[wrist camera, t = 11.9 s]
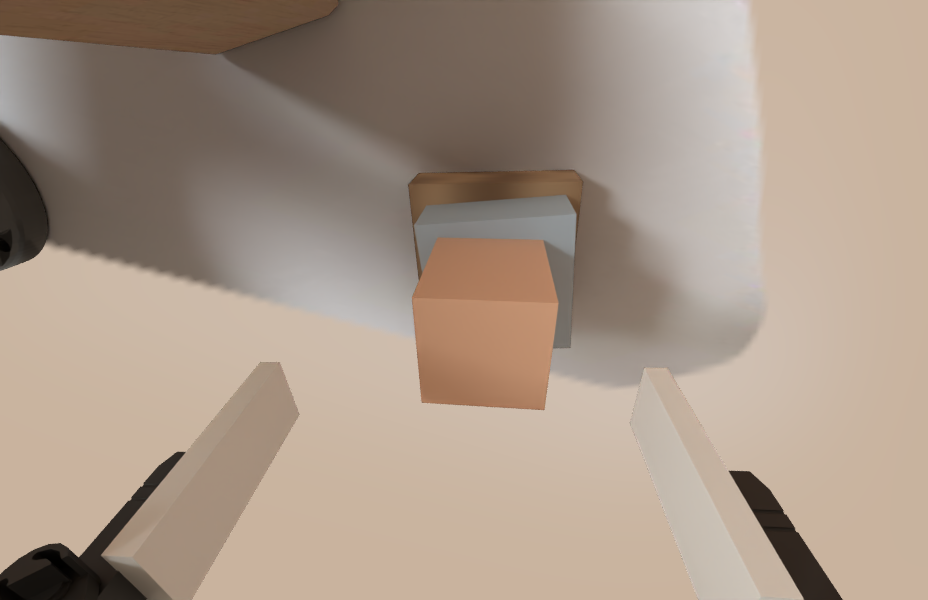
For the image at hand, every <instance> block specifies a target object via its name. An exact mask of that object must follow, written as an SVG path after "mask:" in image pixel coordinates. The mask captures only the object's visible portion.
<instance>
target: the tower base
mask: <svg viewBox="0 0 928 600" xmlns="http://www.w3.org/2000/svg"><path fill="white" fill-rule="evenodd" d="M582 186H583V181H582V180H581V178H580V177H579V176H578V175H577V173H576V172H575V171H574V170H545V171H498V172H451V173H419V174H418V175H417V176H416V177H415V178H414V179H413V180H412V181H411V182H410V183H409V184H408V187H409V196H410V205H411V214H412V223H413V232H414V241H415V250H416V259H417V268H418V277H419V280H420V278H421V275H422V269H421V263H420V257H419V252H418V246H417V240H416V235H415V229H414V225H415V223H416V221H417V220H418V218H419V217H420V215H421V213H422V212H423V210H424V209H425V207H426V206H427V205H440V204H453V203H465V202H478V201H491V200H504V199H517V198H530V197H543V196H555V195H566V196H567V197H568V199H569V201H570V203H571V205H572V207H573V209H574V210H575V212H576V236H575V245H576V237H577V228H578V220H579V211H580V203H581V194H582Z"/></svg>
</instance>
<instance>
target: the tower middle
mask: <svg viewBox="0 0 928 600" xmlns="http://www.w3.org/2000/svg"><path fill="white" fill-rule="evenodd" d="M414 229H415V235H416V240H417V246H418V252H419V257H420V263H421V269H422V273H423V271H424V268H425V266H426V264H427V261H428V259H429V256H430V254H431V252H432V249H433V247H434V245H435V242H436V240H437V238H438V237H441V238H485V239H530V240H543V241H544V245H545V249H546V253H547V257H548V262H549V266H550V270H551V274H552V278H553V282H554V286H555V290H556V294H557V298H558V303H559V304H558V312H557V319H556V327H555V334H554V342H553V348H570V344H571V323H572V301H573V279H574V257H575V236H576V212H575V210H574V209H573V207H572V205H571V203H570V201H569V199H568V197H567V196H566V195H555V196H543V197H530V198H517V199H504V200H491V201H478V202H465V203H453V204H440V205H427V206H426V207H425V209H424V210H423V212H422V213H421V215H420V217H419V218H418V220H417V221H416V223H415V225H414Z"/></svg>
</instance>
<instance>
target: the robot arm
mask: <svg viewBox="0 0 928 600" xmlns="http://www.w3.org/2000/svg"><path fill="white" fill-rule="evenodd" d="M47 230H48V228H47V218H46V213H45V209H44V206H43V203H42V200H41V198H40V196H39V193H38V191H37V189H36V187H35V185H34V184H33V182H32V180H31V178H30V177H29V175H28V174H27V172H26V170H25V169H24V168H23V166H22V165H21V163H20V162H19V161H18V159H17V158H16V157H15V155H14V154H13V153H12V152H11V151H10V150H9V148H8V147H7V146H6V145H5V144H4V143H3V142H2V141H1V140H0V271H1V270H4V269H7V268H10V267H12V266H15V265H18V264H20V263H23V262H26V261H28V260H30V259H32V258H34V257H35V256H36V255H38V254H39V253H40V251H41V250H42V249H43V247H44V245H45V242H46V239H47ZM298 416H299V412H298V409H297V407H296V404H295V401H294V399H293V396H292V393H291V391H290V388H289V386H288V383H287V380H286V377H285V375H284V372H283V370H282V367H281V365H280V363H279V362H278V363H277V362H260V363H259V364H258V366H257V367H256V368H255V369H254V370H253V372H252V373H251V374H250V375H249V377H248V378H247V379H246V380H245V382H244V383H243V384H242V385H241V386H240V388H239V389H238V390H237V391H236V392H235V394H234V395H233V396H232V397H231V398H230V400H229V401H228V402H227V403H226V404H225V406H224V407H223V408H222V409H221V410H220V412H219V413H218V414H217V415H216V416H215V418H214V419H213V420H212V421H211V423H210V424H209V425H208V426H207V427H206V429H205V430H204V431H203V432H202V433H201V435H200V436H199V437H198V438H197V439H196V441H195V442H194V443H193V444H192V446H191V447H190V448H189V449H188V450H187V452H176V453H175V454H174V455H172V456H171V457H170V458H169V459H167V460H166V461H165V462H163V463H162V464H161V465H159V466H158V467H157V468H156V470H155V471H154V472H153V473H152V474H151V475H150V476H149V478H148V479H147V480H146V481H145V482H144V485H143V486H142V487H140V488H139V489H138V490H137V492H136V493H135V494H134V495H133V496H132V499H131V500H130V501H128V502H127V503H126V504H125V505H124V507H123V508H122V509H121V510H120V511H119V512H118V513H117V514H116V516H115V517H114V518H113V519H112V520H111V521H110V523H109V524H108V525H107V526H106V527H105V528H104V530H103V531H102V532H101V533H100V534H99V535H98V536H97V538H96V539H95V540H94V541H93V542H92V543H91V544H90V546H89V547H88V548H87V549H86V550H85V552H84V553H83V554H82V555H81V556H80V557H79V558H78V557H77V556H76V555H75V554H74V553H73V552H72V551H71V550H69V548H67V547H66V546H64V545H62V544H61V543H58V544H48V545H45V546H43V547H40V548H37V549H35V550H33V551H31V552H29V553H28V554H26V555H24V556H23V557H21V558H19V559H18V560H17V561H16V562H14V563H13V564H12V565H10V566H9V567H8V568H7V569H5V570H4V571H3V572H2V573H1V574H0V600H192V598H193V597H194V595H195V593H196V591H197V590H198V588H199V586H200V585H201V583H202V581H203V580H204V578H205V576H206V574H207V572H208V571H209V569H210V567H211V566H212V564H213V562H214V560H215V559H216V557H217V555H218V554H219V552H220V550H221V549H222V547H223V545H224V543H225V542H226V540H227V538H228V537H229V535H230V533H231V531H232V530H233V528H234V526H235V525H236V523H237V521H238V519H239V518H240V516H241V514H242V512H243V511H244V509H245V507H246V505H247V504H248V502H249V500H250V499H251V497H252V495H253V494H254V492H255V490H256V488H257V486H258V485H259V483H260V482H261V480H262V478H263V476H264V474H265V473H266V471H267V470H268V468H269V466H270V464H271V463H272V461H273V459H274V458H275V456H276V454H277V452H278V450H279V449H280V447H281V445H282V444H283V442H284V440H285V438H286V437H287V435H288V433H289V432H290V430H291V428H292V427H293V425H294V423H295V421H296V420H297V418H298ZM630 425H631V427H632V430H633V433H634V435H635V438H636V440H637V443H638V445H639V448H640V451H641V453H642V456H643V458H644V461H645V463H646V466H647V469H648V471H649V474H650V477H651V479H652V481H653V484H654V487H655V489H656V492H657V494H658V497H659V500H660V502H661V505H662V508H663V510H664V512H665V515H666V518H667V520H668V523H669V526H670V528H671V531H672V533H673V536H674V539H675V541H676V544H677V546H678V549H679V551H680V554H681V557H682V559H683V562H684V564H685V567H686V570H687V572H688V575H689V577H690V580H691V582H692V585H693V588H694V590H695V593H696V595H697V598H698V600H842V598H841V597H840V595H839V594H838V592H837V590H836V589H835V588H834V586H833V584H832V583H831V581H830V580H829V578H828V577H827V575H826V574H825V572H824V571H823V569H822V568H821V566H820V565H819V563H818V562H817V560H816V559H815V557H814V556H813V554H812V553H811V551H810V550H809V548H808V547H807V545H806V544H805V542H804V541H803V539H802V538H801V536H800V535H799V533H798V532H796V531H795V527H794V526H793V524H792V523H791V521H790V520H789V518H788V517H787V515H785V514H784V512H783V509H782V508H781V506H780V505H779V503H778V501H777V500H776V498H775V497H774V496H773V494H772V492H771V491H770V490H769V489H768V488H767V487H766V486H765V485H764V484H763V483H762V482H761V481H759V479H757V478H756V477H755V476H754V475H753V474H752V473H751V472H749V471H728V470H727V468H726V466H725V464H724V463H723V461H722V459H721V458H720V456H719V454H718V453H717V451H716V449H715V447H714V446H713V444H712V442H711V441H710V439H709V437H708V436H707V434H706V432H705V431H704V429H703V427H702V425H701V424H700V422H699V420H698V419H697V417H696V415H695V414H694V412H693V410H692V409H691V407H690V405H689V404H688V402H687V400H686V398H685V397H684V395H683V393H682V392H681V390H680V388H679V387H678V385H677V383H676V381H675V380H674V378H673V376H672V375H671V373H670V371H669V369H668V368H644V371H643V375H642V378H641V382H640V386H639V390H638V394H637V398H636V402H635V406H634V409H633V413H632V417H631V421H630Z"/></svg>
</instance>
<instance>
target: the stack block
mask: <svg viewBox="0 0 928 600" xmlns="http://www.w3.org/2000/svg"><path fill="white" fill-rule="evenodd" d="M412 304H413V315H414V325H415V336H416V346H417V357H418V367H419V379H420V389H421V400H422V403H437V404H453V405H469V406H486V407H503V408H518V409H535V410H544V408H545V400H546V393H547V386H548V379H549V372H550V364H551V357H552V349H553V342H554V334H555V327H556V319H557V312H558V304H559V303H558V298H557V294H556V290H555V286H554V282H553V278H552V274H551V270H550V266H549V262H548V257H547V253H546V249H545V245H544V241H543V240H530V239H485V238H441V237H438V238H437V240H436V242H435V245H434V247H433V249H432V252H431V254H430V256H429V259H428V261H427V264H426V266H425V268H424V271H423V273H422V275H421V278H420V280H419V282H418V285H417V287H416V289H415V292H414V294H413V296H412Z"/></svg>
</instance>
